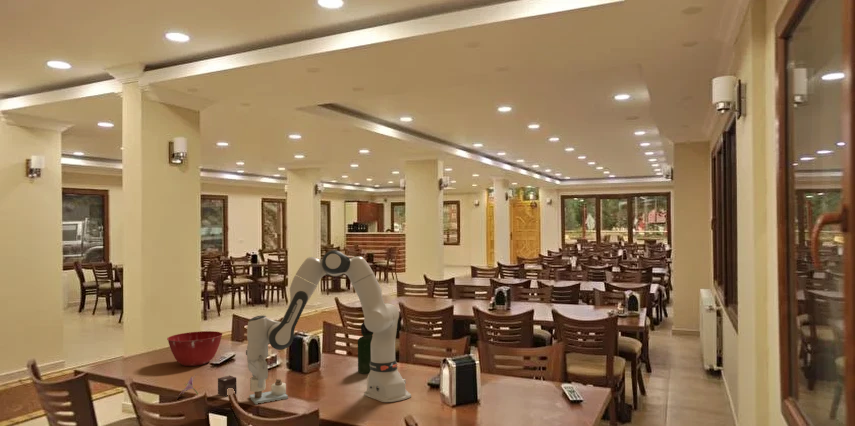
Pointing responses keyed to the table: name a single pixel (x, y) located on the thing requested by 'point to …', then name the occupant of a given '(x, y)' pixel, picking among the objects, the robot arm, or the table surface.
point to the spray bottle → (364, 350)
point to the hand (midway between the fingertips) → (257, 385)
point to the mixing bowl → (195, 347)
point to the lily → (189, 385)
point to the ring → (256, 385)
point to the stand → (271, 393)
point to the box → (226, 384)
